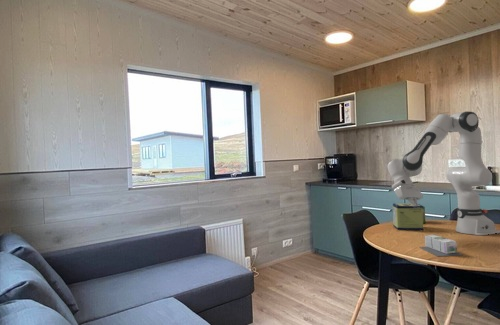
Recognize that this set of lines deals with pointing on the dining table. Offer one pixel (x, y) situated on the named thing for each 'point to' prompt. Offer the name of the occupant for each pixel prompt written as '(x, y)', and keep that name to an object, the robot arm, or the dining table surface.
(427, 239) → the syrup box
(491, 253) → the dining table surface
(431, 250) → the mat
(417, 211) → the protein box
